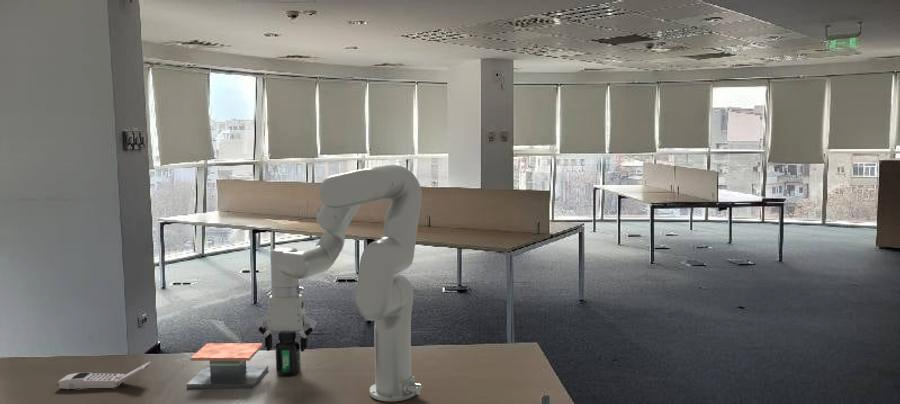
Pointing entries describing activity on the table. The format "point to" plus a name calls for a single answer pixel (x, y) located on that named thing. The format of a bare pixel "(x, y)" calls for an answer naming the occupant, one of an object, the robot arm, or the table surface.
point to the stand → (227, 366)
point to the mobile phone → (96, 379)
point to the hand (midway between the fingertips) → (286, 349)
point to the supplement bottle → (288, 355)
